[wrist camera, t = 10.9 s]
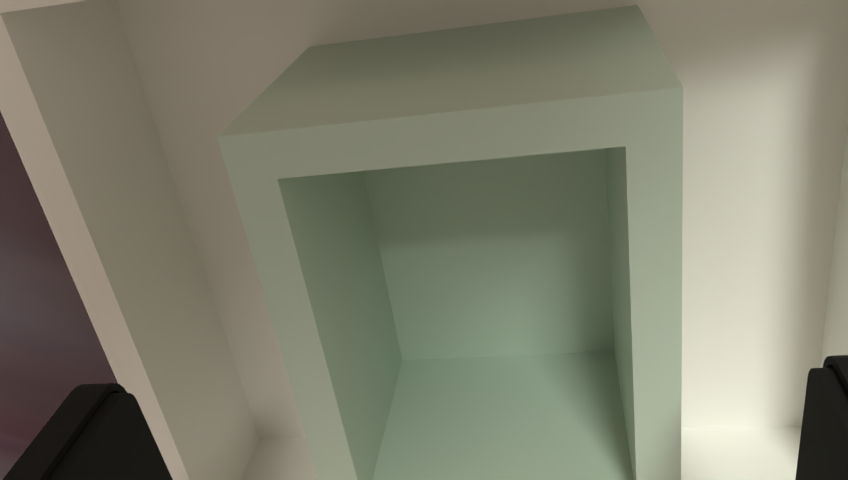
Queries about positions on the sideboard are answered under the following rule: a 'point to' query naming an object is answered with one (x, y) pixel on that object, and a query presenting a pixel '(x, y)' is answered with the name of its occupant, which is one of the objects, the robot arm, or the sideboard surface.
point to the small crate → (475, 249)
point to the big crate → (391, 16)
